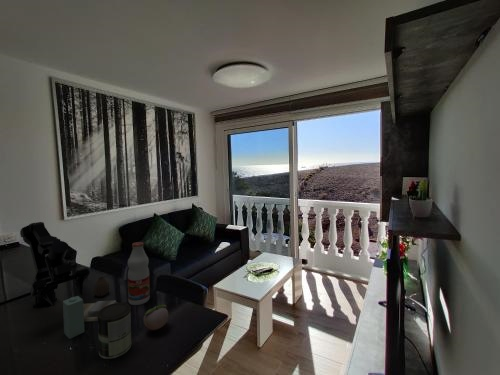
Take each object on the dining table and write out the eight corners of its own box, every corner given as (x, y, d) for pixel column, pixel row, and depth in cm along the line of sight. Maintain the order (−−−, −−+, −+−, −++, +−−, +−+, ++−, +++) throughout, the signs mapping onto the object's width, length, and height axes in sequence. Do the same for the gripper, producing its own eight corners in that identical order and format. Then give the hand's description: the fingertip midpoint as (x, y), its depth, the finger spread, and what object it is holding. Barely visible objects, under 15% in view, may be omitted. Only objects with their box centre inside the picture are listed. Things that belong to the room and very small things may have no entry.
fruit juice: (150, 294, 126) (149, 239, 124) (149, 303, 117) (148, 245, 115) (129, 297, 123) (128, 241, 120) (127, 307, 114) (125, 247, 112)
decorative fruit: (153, 340, 93) (153, 314, 92) (140, 332, 97) (139, 307, 96) (173, 326, 101) (173, 303, 100) (160, 320, 105) (159, 297, 104)
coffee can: (92, 360, 83) (90, 319, 82) (107, 338, 93) (106, 302, 92) (124, 358, 84) (123, 318, 83) (136, 337, 94) (135, 301, 93)
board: (67, 322, 102) (66, 313, 102) (83, 306, 114) (83, 298, 114) (107, 320, 104) (107, 311, 104) (119, 304, 116) (118, 296, 116)
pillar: (64, 333, 96) (62, 299, 95) (79, 327, 100) (77, 293, 99) (69, 339, 93) (67, 303, 92) (84, 332, 97) (82, 297, 96)
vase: (102, 299, 121) (101, 281, 120) (90, 297, 122) (89, 280, 121) (112, 292, 127) (112, 275, 127) (101, 290, 129) (100, 274, 128)
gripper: (30, 262, 92) (41, 300, 87) (86, 249, 107) (99, 281, 102) (25, 277, 98) (36, 314, 92) (80, 263, 113) (92, 294, 107)
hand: (68, 300), depth 98 cm, fingers open, 9 cm apart
